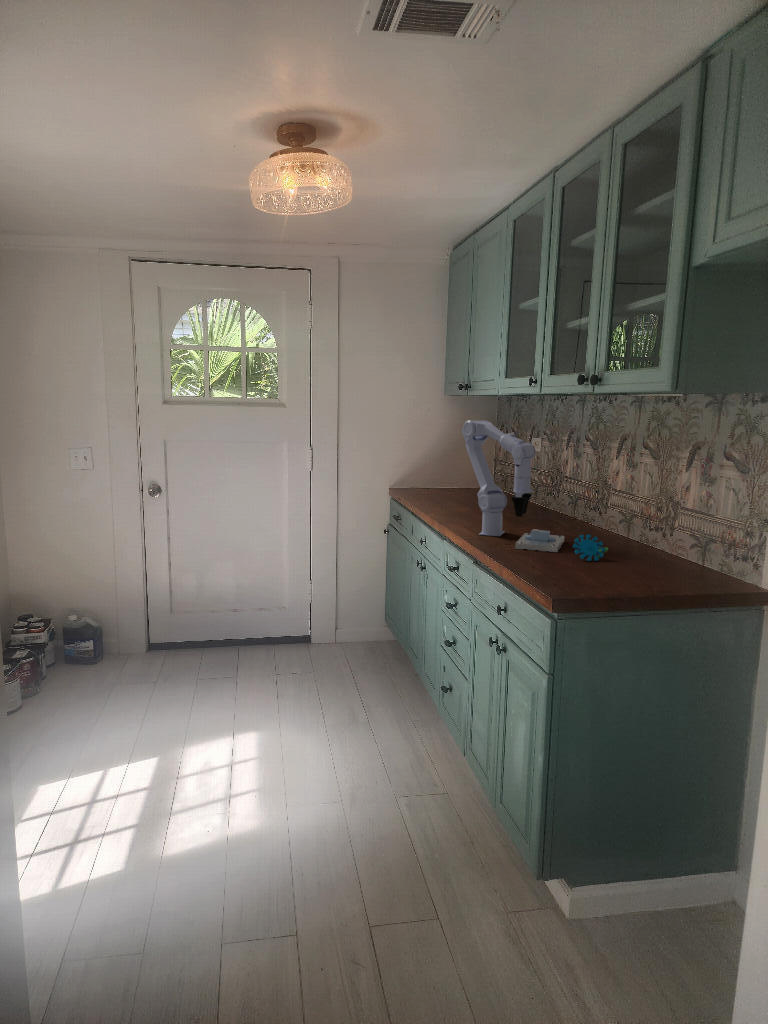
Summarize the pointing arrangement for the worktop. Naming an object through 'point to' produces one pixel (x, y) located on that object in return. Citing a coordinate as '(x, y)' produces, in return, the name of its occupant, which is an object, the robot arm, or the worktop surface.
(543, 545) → the plate
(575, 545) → the gear
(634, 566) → the worktop surface
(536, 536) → the servo
